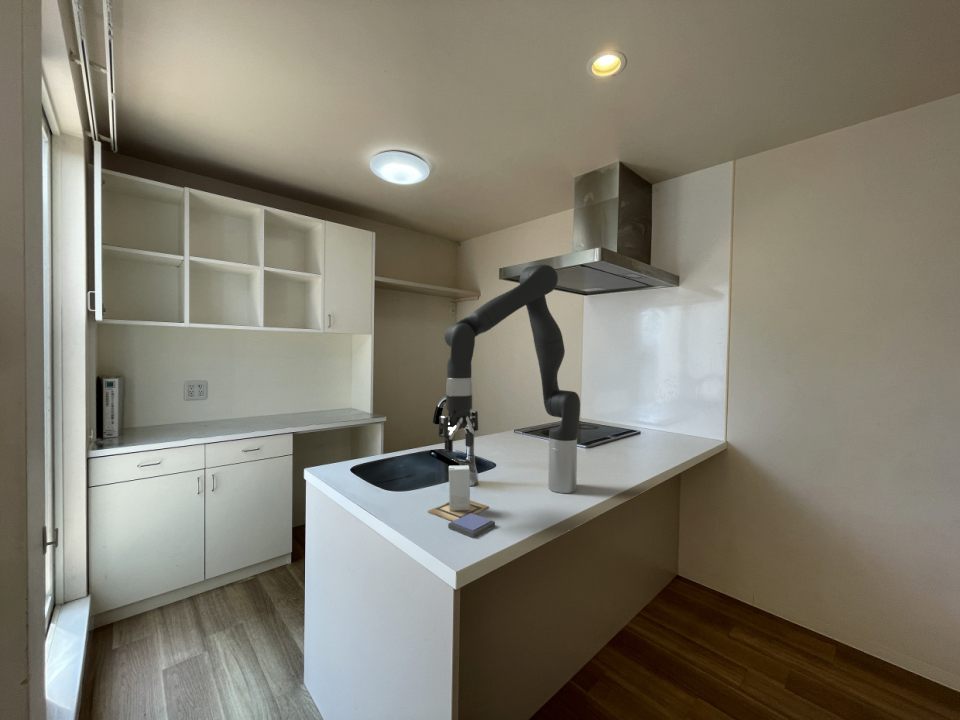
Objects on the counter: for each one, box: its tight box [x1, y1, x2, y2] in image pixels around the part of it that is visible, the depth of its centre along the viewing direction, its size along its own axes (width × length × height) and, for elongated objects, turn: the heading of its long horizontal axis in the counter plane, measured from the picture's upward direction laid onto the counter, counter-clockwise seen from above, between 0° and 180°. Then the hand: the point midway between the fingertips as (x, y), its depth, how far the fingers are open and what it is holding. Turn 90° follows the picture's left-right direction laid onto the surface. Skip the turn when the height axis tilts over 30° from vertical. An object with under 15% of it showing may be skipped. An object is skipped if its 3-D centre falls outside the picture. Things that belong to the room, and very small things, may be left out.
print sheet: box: [427, 499, 490, 522], centre depth 113 cm, size 14×11×1 cm
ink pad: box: [447, 513, 496, 539], centre depth 102 cm, size 9×8×2 cm
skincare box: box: [448, 464, 471, 511], centre depth 113 cm, size 6×4×12 cm
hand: (459, 449), depth 113 cm, fingers open, 8 cm apart
